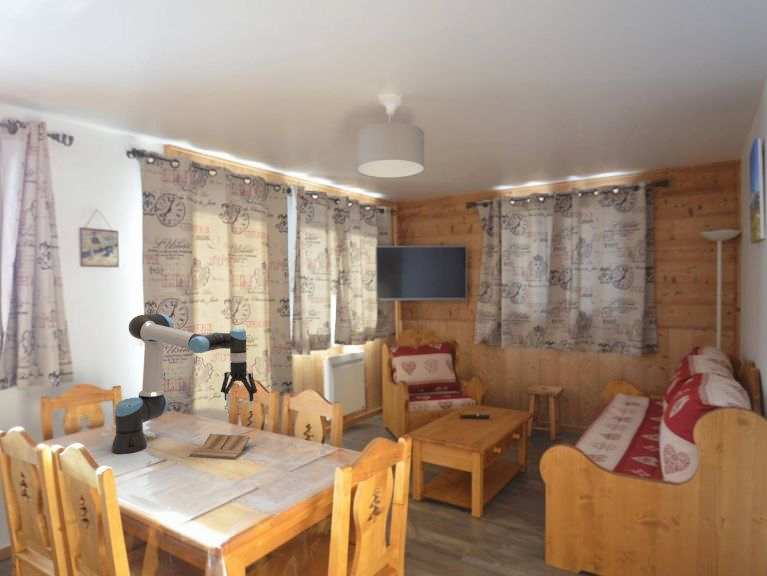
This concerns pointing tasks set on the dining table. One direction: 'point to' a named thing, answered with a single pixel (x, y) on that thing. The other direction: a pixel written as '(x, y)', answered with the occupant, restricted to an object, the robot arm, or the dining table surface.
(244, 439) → the plank
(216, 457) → the underlay
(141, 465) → the dining table surface
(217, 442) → the plank
